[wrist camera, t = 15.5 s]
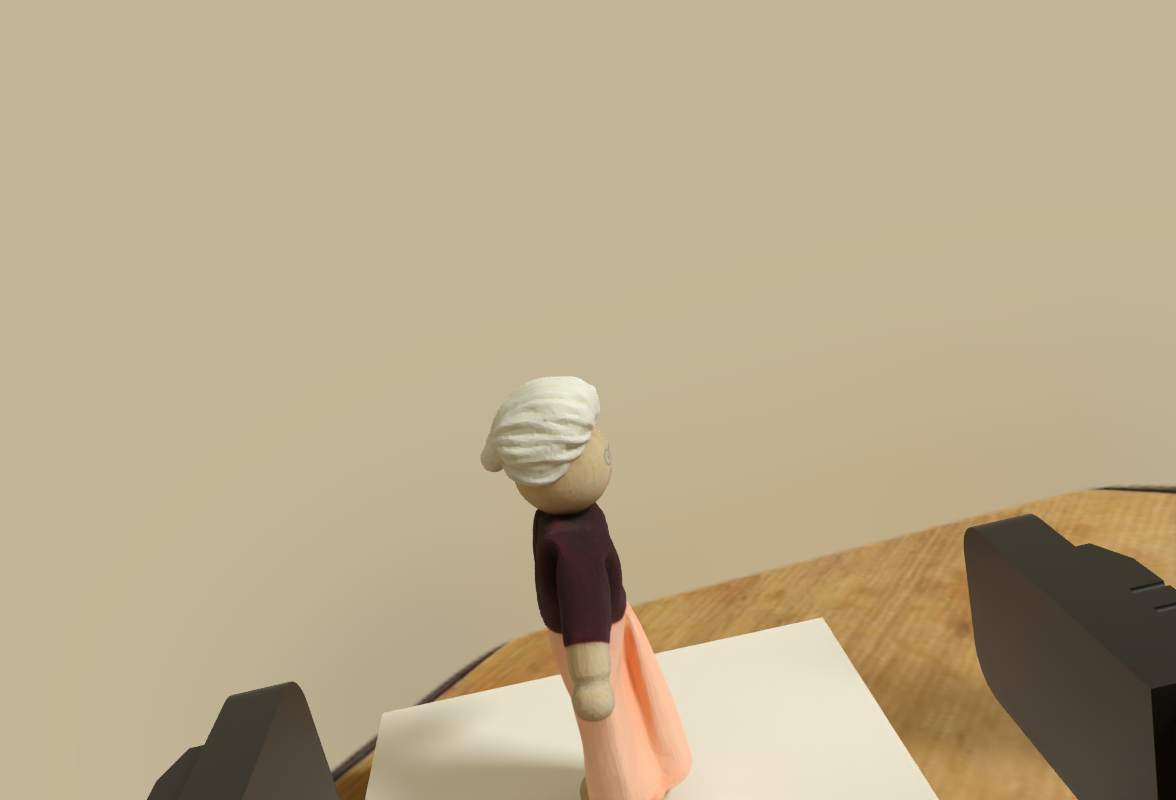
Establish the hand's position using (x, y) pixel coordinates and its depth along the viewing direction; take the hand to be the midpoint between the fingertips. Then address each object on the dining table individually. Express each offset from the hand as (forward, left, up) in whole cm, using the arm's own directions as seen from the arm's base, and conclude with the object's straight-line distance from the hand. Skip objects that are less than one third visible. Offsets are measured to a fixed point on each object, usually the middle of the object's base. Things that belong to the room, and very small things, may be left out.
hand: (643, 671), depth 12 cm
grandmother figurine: (+1, -14, -13) cm, 19 cm away
